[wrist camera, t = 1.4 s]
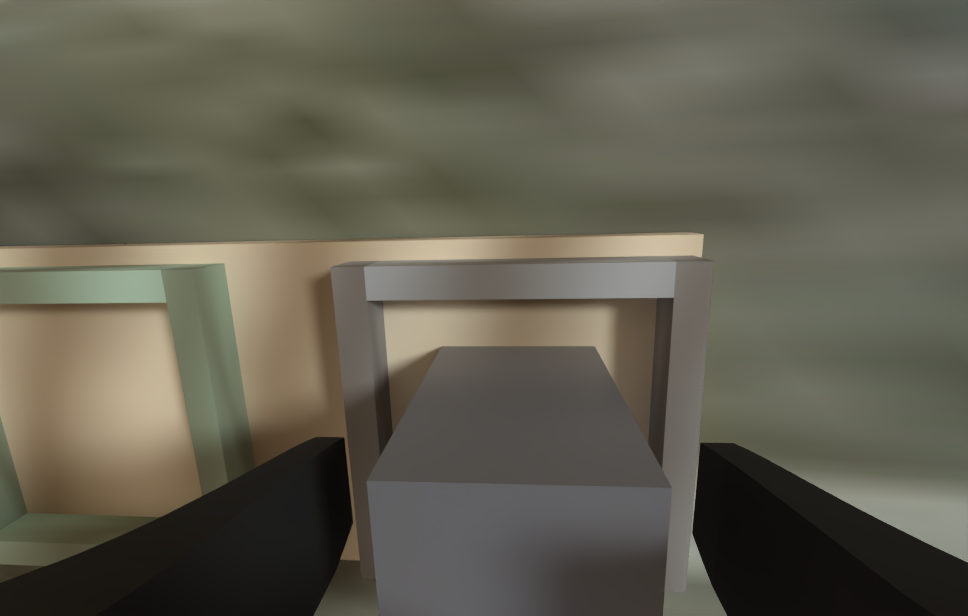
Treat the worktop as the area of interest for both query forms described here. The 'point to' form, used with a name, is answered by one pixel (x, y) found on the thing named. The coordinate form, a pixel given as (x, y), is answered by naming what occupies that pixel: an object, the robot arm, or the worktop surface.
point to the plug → (519, 492)
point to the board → (307, 362)
